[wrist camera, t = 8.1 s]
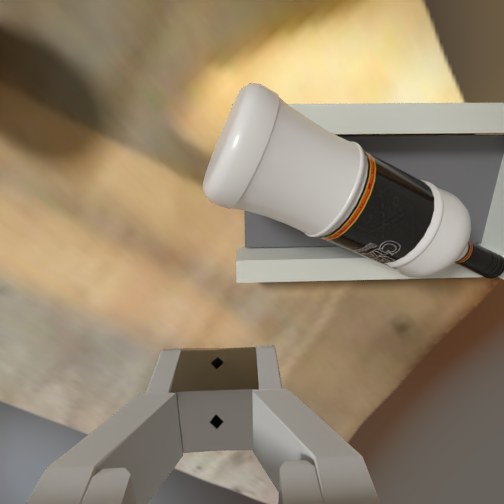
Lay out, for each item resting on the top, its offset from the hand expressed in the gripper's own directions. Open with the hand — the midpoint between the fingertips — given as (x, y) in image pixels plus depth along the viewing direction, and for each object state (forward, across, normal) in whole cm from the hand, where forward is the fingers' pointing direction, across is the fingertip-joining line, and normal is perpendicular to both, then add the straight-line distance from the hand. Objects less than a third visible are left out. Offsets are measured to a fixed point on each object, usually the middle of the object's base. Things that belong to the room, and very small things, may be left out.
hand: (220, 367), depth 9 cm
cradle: (+27, -15, 0) cm, 31 cm away
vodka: (+18, +1, -6) cm, 19 cm away
